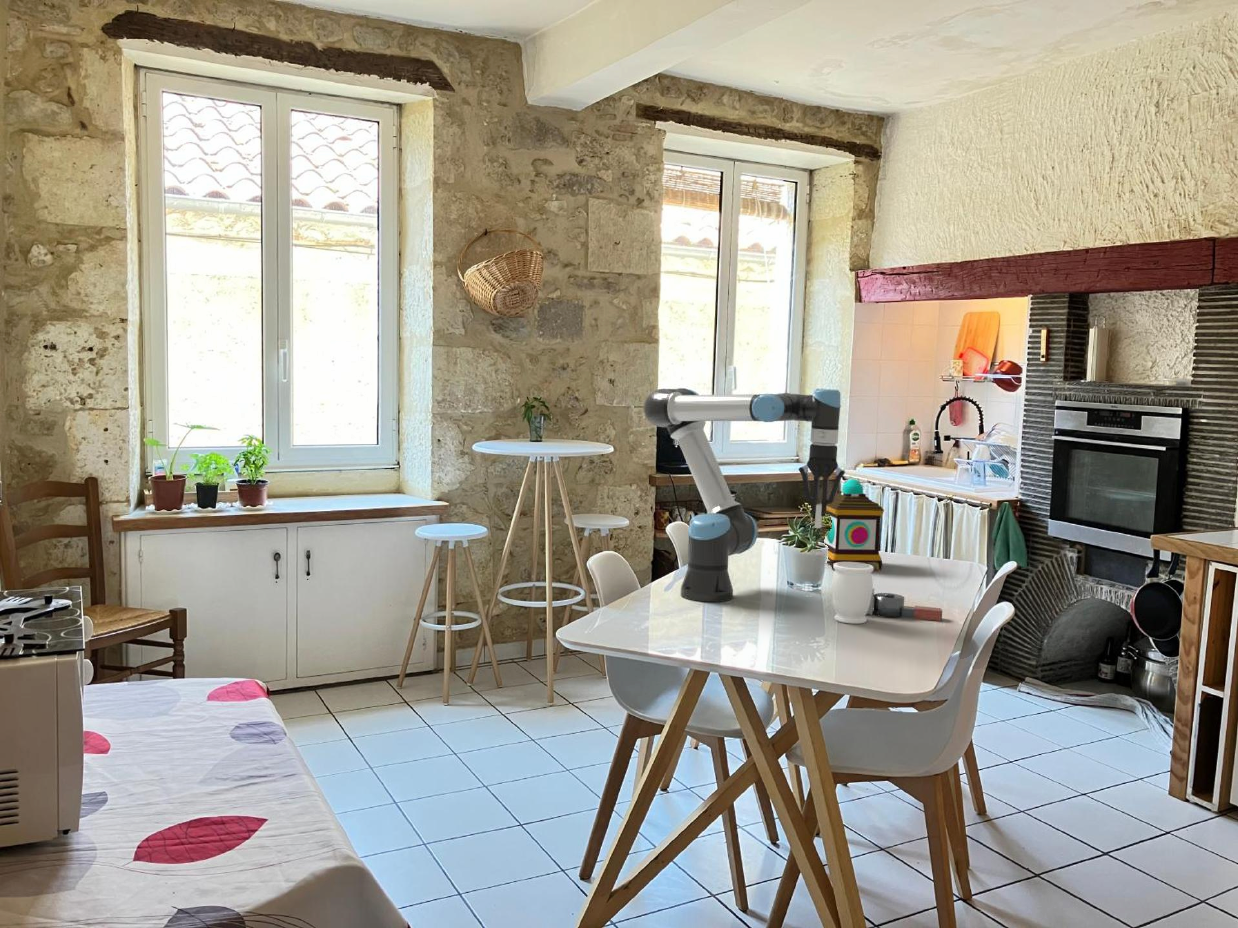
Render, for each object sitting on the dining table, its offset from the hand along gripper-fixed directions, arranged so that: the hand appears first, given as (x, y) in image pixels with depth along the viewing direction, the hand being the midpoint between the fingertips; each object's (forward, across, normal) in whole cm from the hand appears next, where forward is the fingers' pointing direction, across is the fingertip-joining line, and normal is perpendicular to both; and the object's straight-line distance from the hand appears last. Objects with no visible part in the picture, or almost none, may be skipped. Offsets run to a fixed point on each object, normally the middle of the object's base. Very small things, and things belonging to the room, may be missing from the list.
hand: (818, 527), depth 279 cm
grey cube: (+22, +14, -3) cm, 26 cm away
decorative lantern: (+23, +3, +62) cm, 66 cm away
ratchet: (+22, +24, -3) cm, 33 cm away
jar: (+22, +12, -15) cm, 29 cm away
